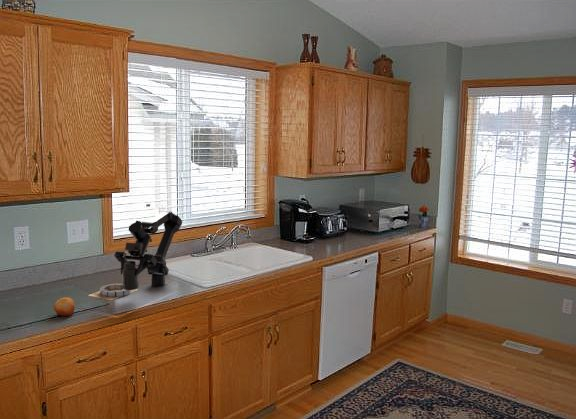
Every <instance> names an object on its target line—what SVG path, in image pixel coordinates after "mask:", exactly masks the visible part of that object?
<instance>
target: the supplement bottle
mask: <svg viewBox="0 0 576 419" xmlns="http://www.w3.org/2000/svg"><path fill="white" fill-rule="evenodd" d="M136 266H137V265H136V260H128V261H127V262H124V267H125V268H124V269H123V270H122V274H121V275H122V276H121V277H122V284H123V289H124V290H135V289H138V288H139V286H140V285H139V284H140V283H139V282H140V281H139V274H138V275H137V276H136V275H135V273H136V270H137V268H138V267H136Z"/></svg>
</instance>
